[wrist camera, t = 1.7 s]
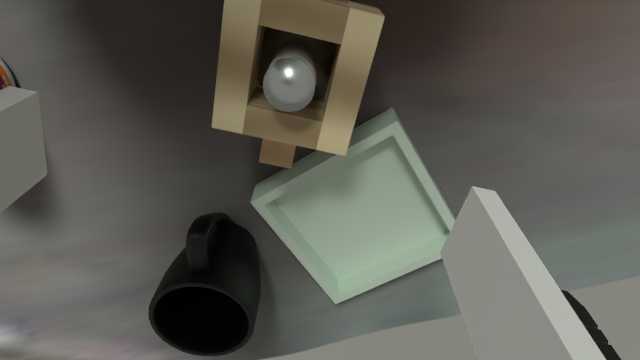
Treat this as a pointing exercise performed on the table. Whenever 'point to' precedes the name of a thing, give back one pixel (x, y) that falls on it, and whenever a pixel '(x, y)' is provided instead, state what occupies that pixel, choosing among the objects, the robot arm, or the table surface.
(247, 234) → the mug
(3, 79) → the pill bottle
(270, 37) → the grey piece
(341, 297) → the tray
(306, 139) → the wooden rectangular frame
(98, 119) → the table surface
